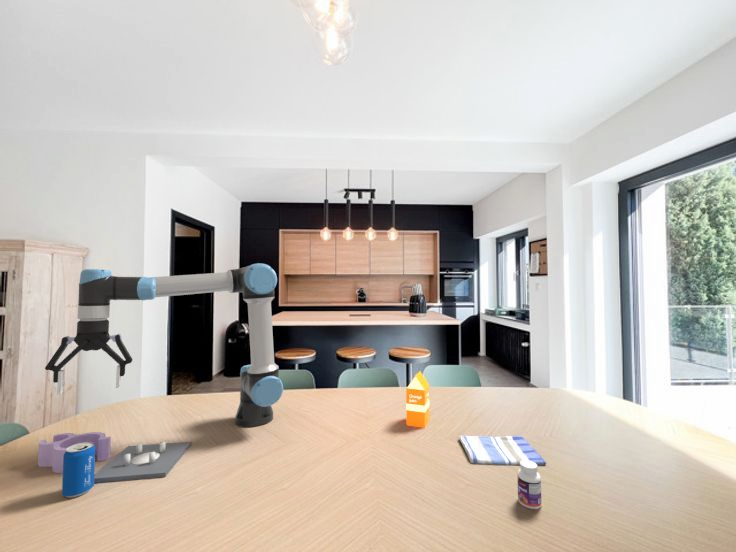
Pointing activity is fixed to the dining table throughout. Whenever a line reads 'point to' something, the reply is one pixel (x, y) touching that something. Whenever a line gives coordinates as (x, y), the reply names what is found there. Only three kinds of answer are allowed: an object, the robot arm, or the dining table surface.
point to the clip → (55, 450)
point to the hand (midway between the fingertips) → (90, 390)
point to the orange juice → (417, 401)
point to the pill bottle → (529, 485)
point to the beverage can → (78, 469)
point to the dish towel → (499, 450)
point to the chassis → (142, 462)
